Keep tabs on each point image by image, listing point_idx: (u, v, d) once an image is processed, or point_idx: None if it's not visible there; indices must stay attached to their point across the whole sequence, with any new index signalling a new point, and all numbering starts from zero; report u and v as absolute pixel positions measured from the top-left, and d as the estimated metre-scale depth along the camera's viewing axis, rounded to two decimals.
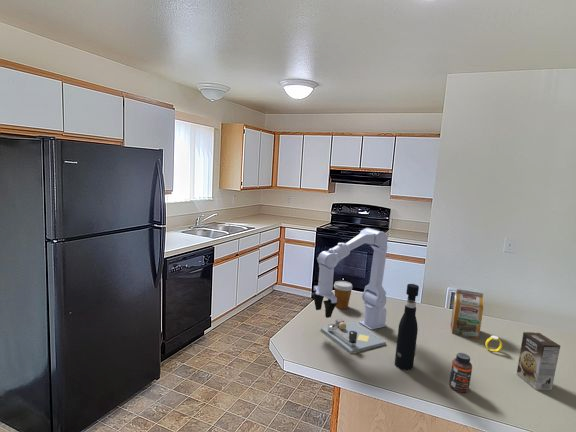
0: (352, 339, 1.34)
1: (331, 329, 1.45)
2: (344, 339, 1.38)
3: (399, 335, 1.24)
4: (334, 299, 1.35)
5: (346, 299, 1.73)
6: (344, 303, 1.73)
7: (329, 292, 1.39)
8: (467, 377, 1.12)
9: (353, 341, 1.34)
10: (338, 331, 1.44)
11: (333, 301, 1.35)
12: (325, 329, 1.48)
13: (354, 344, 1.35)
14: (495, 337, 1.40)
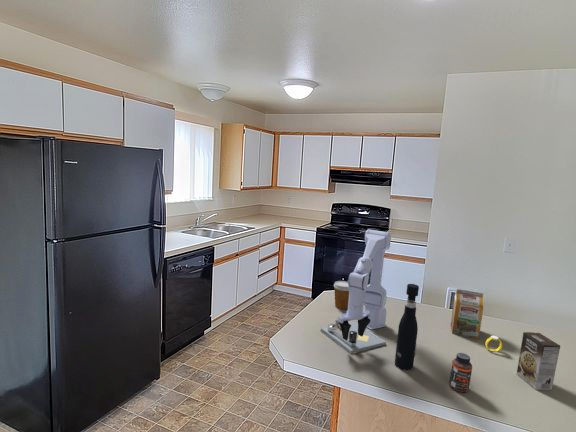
0: (352, 339, 1.34)
1: (331, 329, 1.45)
2: (344, 339, 1.38)
3: (399, 335, 1.24)
4: (339, 318, 1.31)
5: (346, 299, 1.73)
6: (344, 303, 1.73)
7: (350, 314, 1.32)
8: (467, 377, 1.12)
9: (353, 341, 1.34)
10: (338, 331, 1.44)
11: (338, 320, 1.31)
12: (325, 329, 1.48)
13: (354, 344, 1.35)
14: (495, 337, 1.40)
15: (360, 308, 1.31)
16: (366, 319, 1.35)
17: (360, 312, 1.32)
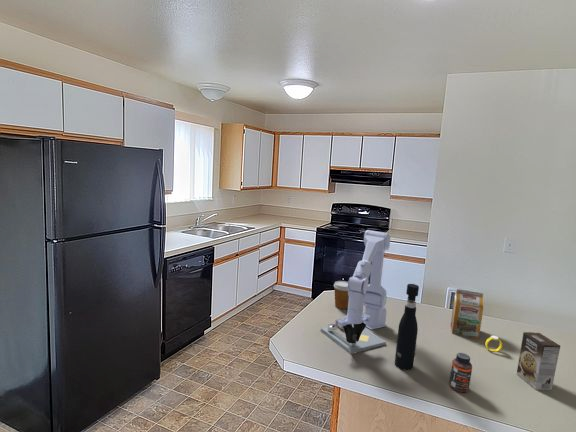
0: (352, 339, 1.34)
1: (331, 329, 1.45)
2: (344, 339, 1.38)
3: (399, 335, 1.24)
4: (339, 322, 1.31)
5: (346, 299, 1.73)
6: (344, 303, 1.73)
7: (349, 318, 1.33)
8: (467, 377, 1.12)
9: (353, 341, 1.34)
10: (338, 331, 1.44)
11: (338, 324, 1.31)
12: (325, 329, 1.48)
13: (354, 344, 1.35)
14: (495, 337, 1.40)
15: (360, 312, 1.31)
16: (362, 324, 1.35)
17: (360, 316, 1.32)
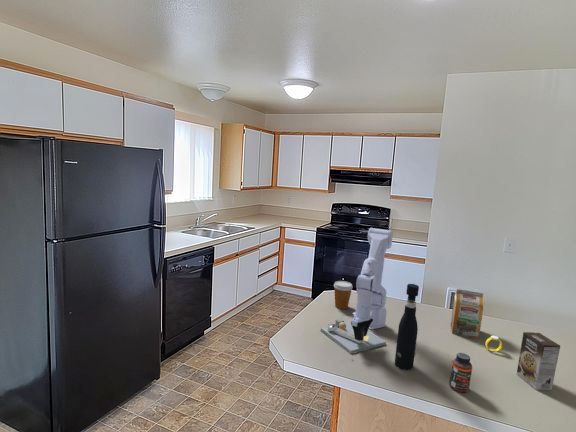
0: None
1: (333, 329, 1.45)
2: (350, 337, 1.40)
3: (399, 335, 1.24)
4: (353, 322, 1.32)
5: (346, 299, 1.73)
6: (344, 303, 1.73)
7: (360, 316, 1.35)
8: (467, 377, 1.12)
9: (362, 338, 1.37)
10: (341, 330, 1.44)
11: (352, 323, 1.33)
12: (325, 329, 1.48)
13: (362, 341, 1.38)
14: (495, 337, 1.40)
15: (370, 309, 1.36)
16: (369, 319, 1.40)
17: (369, 312, 1.36)
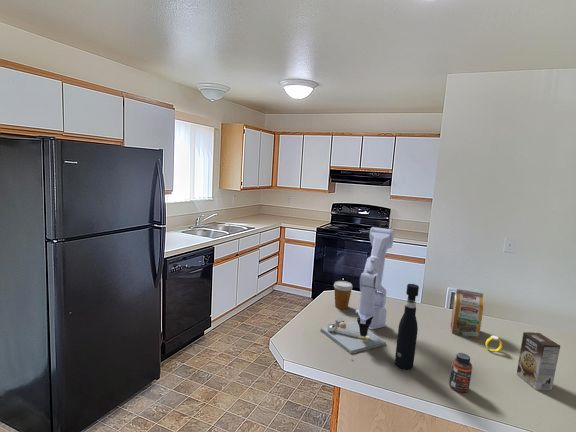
0: None
1: (334, 329, 1.45)
2: (354, 334, 1.42)
3: (399, 335, 1.24)
4: (362, 320, 1.34)
5: (346, 299, 1.73)
6: (344, 303, 1.73)
7: (365, 313, 1.38)
8: (467, 377, 1.12)
9: None
10: (342, 329, 1.46)
11: (361, 321, 1.35)
12: (325, 329, 1.48)
13: None
14: (495, 337, 1.40)
15: (373, 305, 1.39)
16: None
17: (373, 308, 1.40)
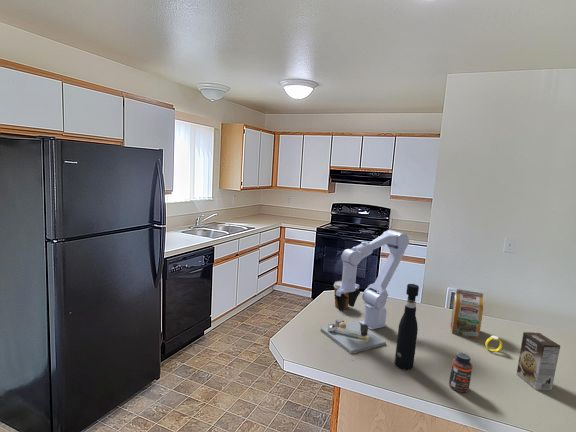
0: (365, 332, 1.41)
1: (334, 329, 1.45)
2: (354, 334, 1.42)
3: (399, 335, 1.24)
4: (337, 292, 1.43)
5: None
6: None
7: (345, 287, 1.46)
8: (467, 377, 1.12)
9: (366, 333, 1.41)
10: (342, 328, 1.46)
11: (336, 293, 1.44)
12: (325, 329, 1.48)
13: None
14: (495, 337, 1.40)
15: (354, 281, 1.46)
16: (356, 291, 1.51)
17: (354, 285, 1.46)
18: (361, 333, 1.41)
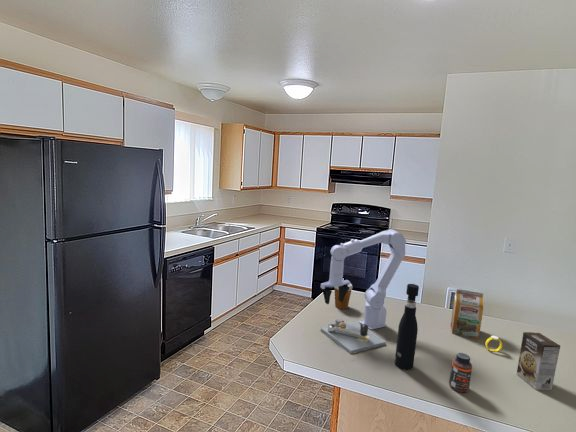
0: (365, 332, 1.41)
1: (334, 329, 1.45)
2: (354, 334, 1.42)
3: (399, 335, 1.24)
4: (321, 285, 1.51)
5: (346, 299, 1.73)
6: (344, 303, 1.73)
7: (331, 281, 1.53)
8: (467, 377, 1.12)
9: (366, 333, 1.41)
10: (342, 328, 1.46)
11: (321, 286, 1.52)
12: (325, 329, 1.48)
13: None
14: (495, 337, 1.40)
15: (340, 276, 1.51)
16: (345, 286, 1.56)
17: (340, 280, 1.52)
18: (361, 333, 1.41)
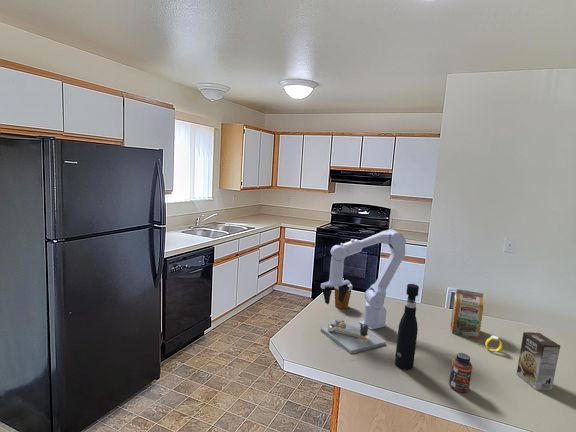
0: (365, 332, 1.41)
1: (334, 329, 1.45)
2: (354, 334, 1.42)
3: (399, 335, 1.24)
4: (321, 285, 1.51)
5: (346, 299, 1.73)
6: (344, 303, 1.73)
7: (331, 281, 1.53)
8: (467, 377, 1.12)
9: (366, 333, 1.41)
10: (342, 328, 1.46)
11: (321, 286, 1.52)
12: (325, 329, 1.48)
13: None
14: (495, 337, 1.40)
15: (340, 276, 1.51)
16: (345, 286, 1.56)
17: (340, 280, 1.52)
18: (361, 333, 1.41)
